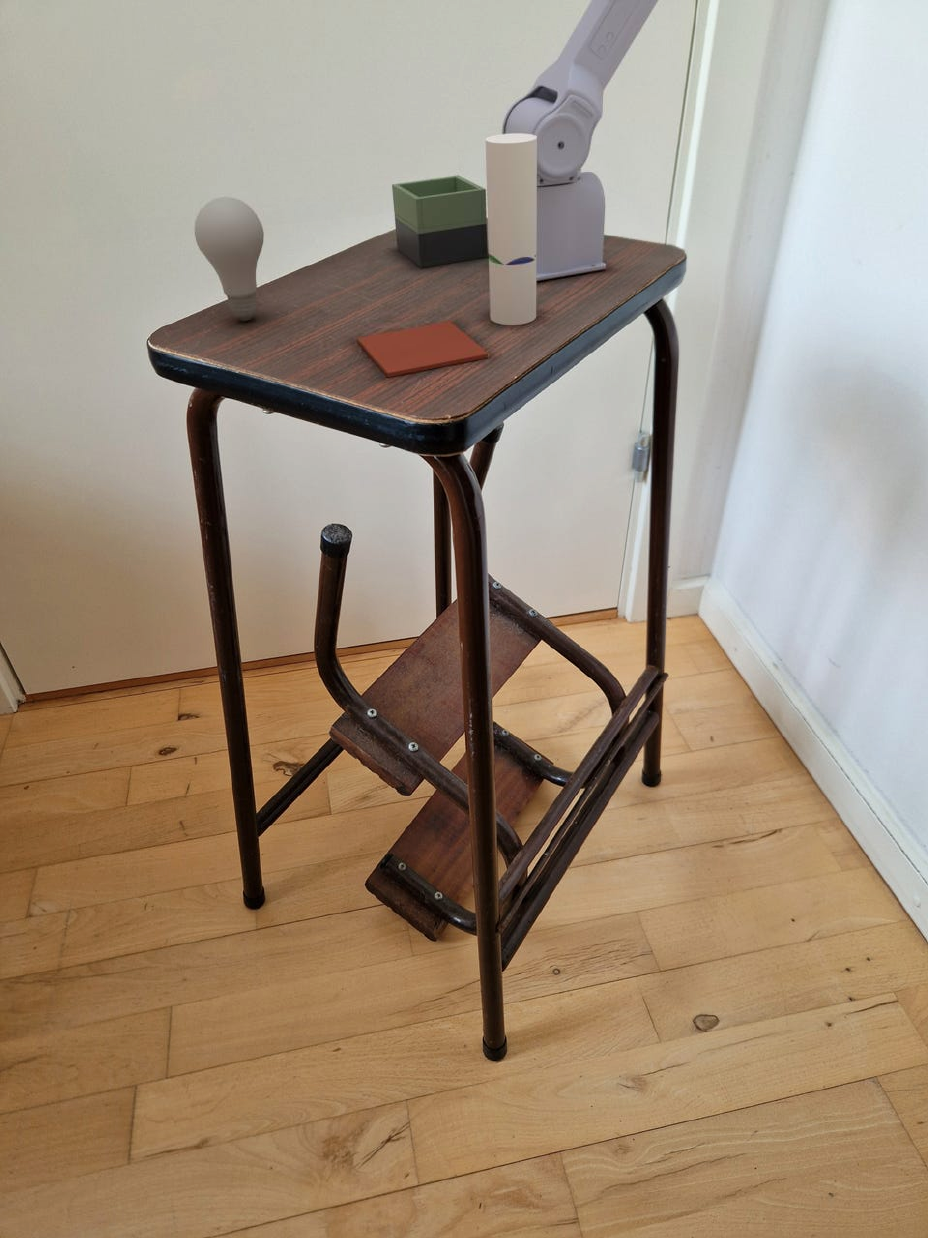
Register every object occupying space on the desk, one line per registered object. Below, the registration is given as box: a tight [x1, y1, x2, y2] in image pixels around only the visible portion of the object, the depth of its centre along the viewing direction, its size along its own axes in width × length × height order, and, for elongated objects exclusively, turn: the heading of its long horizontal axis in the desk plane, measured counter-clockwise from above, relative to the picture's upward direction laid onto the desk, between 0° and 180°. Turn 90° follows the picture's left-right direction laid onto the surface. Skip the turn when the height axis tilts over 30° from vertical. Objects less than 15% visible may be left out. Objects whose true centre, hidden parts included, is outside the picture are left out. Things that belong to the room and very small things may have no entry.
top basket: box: [391, 174, 488, 234], centre depth 97 cm, size 8×8×4 cm
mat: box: [356, 320, 489, 378], centre depth 77 cm, size 9×9×1 cm
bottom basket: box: [394, 217, 489, 269], centre depth 99 cm, size 8×8×4 cm
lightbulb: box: [194, 196, 265, 322], centre depth 82 cm, size 6×6×11 cm
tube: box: [485, 133, 537, 326], centre depth 78 cm, size 4×4×15 cm
